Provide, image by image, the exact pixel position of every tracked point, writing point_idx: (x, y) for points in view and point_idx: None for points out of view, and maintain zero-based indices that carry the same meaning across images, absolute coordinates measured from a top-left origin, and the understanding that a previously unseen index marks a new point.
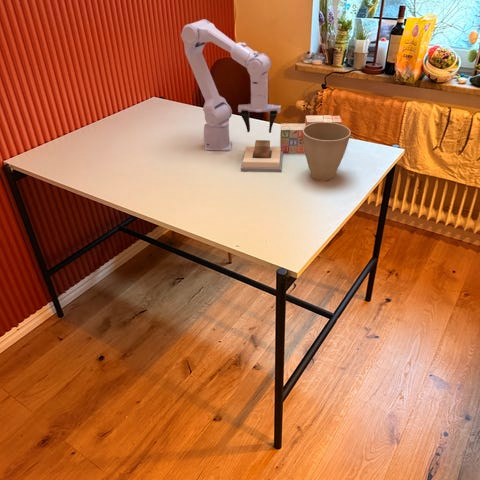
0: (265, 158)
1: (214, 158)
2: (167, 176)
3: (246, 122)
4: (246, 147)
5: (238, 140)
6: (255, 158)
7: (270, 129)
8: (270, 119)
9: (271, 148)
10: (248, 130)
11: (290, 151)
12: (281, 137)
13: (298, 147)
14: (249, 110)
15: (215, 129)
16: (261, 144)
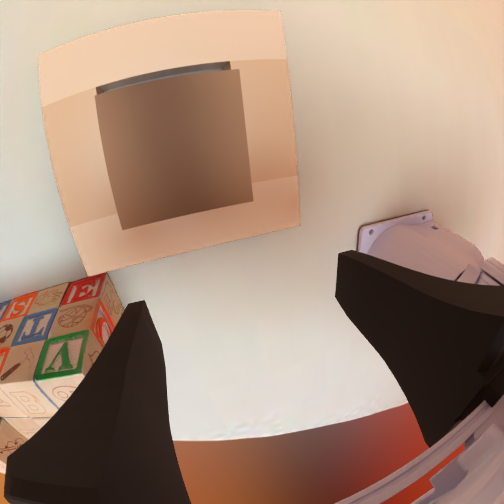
0: (134, 74)
1: (401, 145)
2: (468, 32)
3: (433, 283)
4: (297, 211)
5: (328, 323)
6: (206, 59)
7: (123, 321)
8: (99, 429)
9: (133, 238)
10: (355, 256)
11: (60, 288)
12: (85, 331)
13: (24, 311)
14: (481, 421)
15: (467, 262)
16: (177, 116)
